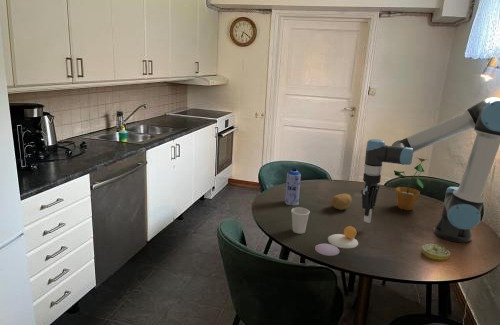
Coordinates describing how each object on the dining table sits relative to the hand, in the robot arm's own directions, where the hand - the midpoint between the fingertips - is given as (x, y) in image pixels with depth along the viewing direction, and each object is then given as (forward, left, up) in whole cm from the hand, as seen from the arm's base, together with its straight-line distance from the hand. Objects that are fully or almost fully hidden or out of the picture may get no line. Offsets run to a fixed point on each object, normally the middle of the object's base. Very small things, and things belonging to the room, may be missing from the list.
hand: (367, 221), depth 174 cm
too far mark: (+1, +31, -4) cm, 32 cm away
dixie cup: (+20, +26, -4) cm, 33 cm away
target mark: (+1, +19, -4) cm, 20 cm away
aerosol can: (+45, +1, -4) cm, 45 cm away
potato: (+23, -14, -4) cm, 27 cm away
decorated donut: (-31, 0, -5) cm, 32 cm away
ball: (0, +14, -1) cm, 14 cm away
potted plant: (+1, -44, -4) cm, 44 cm away
